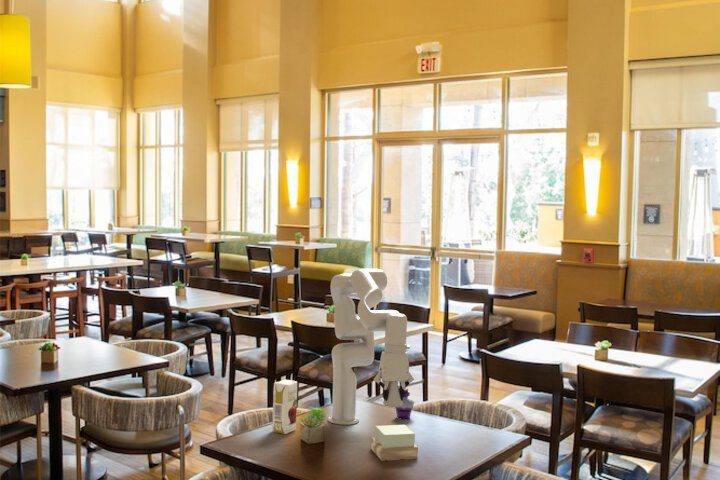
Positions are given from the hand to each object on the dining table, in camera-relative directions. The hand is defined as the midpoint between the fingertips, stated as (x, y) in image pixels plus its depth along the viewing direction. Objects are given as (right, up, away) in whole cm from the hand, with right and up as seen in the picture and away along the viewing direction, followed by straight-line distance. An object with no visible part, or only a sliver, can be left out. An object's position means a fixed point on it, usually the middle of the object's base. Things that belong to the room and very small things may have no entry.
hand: (393, 399), depth 259 cm
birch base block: (0, -20, +1) cm, 20 cm away
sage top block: (0, -15, 0) cm, 15 cm away
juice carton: (-41, -17, +23) cm, 50 cm away
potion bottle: (+6, -18, +47) cm, 51 cm away
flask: (0, -2, 0) cm, 2 cm away
